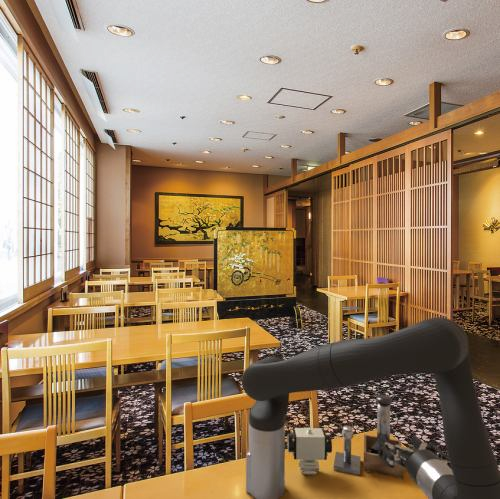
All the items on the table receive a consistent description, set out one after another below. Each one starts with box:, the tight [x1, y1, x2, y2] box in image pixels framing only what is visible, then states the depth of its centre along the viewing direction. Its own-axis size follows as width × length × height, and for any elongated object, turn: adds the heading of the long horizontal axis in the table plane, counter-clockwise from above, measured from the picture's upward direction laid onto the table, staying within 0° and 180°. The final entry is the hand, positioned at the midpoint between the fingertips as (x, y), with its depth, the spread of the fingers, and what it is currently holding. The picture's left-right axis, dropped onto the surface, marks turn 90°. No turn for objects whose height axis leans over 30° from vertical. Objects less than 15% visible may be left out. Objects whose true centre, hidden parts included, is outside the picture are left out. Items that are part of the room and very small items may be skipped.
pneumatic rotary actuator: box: [286, 426, 333, 476], centre depth 97 cm, size 6×12×12 cm, turn 89°
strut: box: [371, 394, 393, 454], centre depth 100 cm, size 5×5×18 cm
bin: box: [363, 434, 405, 480], centre depth 101 cm, size 10×10×5 cm
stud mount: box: [333, 425, 362, 476], centre depth 100 cm, size 7×7×11 cm
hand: (396, 439), depth 90 cm, fingers open, 8 cm apart
